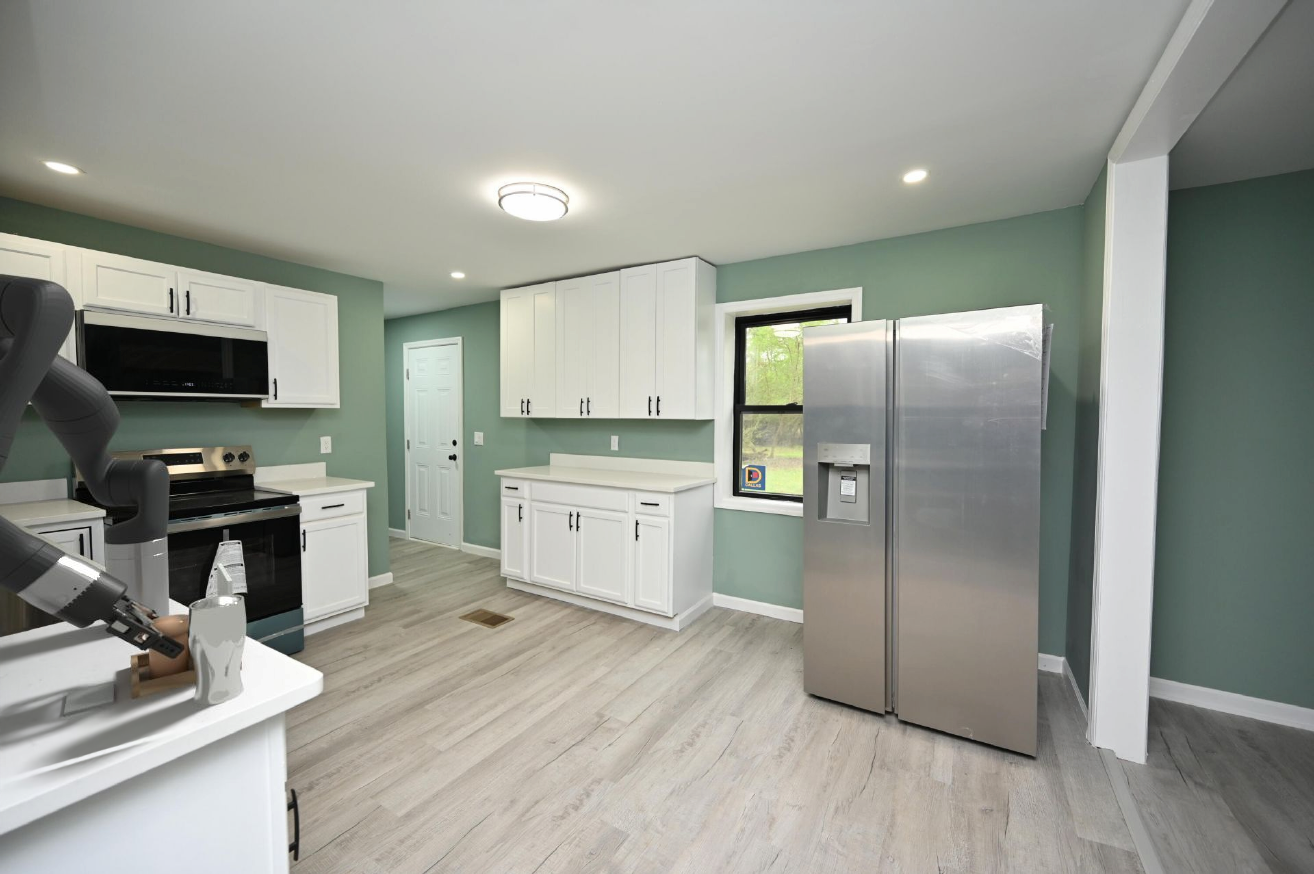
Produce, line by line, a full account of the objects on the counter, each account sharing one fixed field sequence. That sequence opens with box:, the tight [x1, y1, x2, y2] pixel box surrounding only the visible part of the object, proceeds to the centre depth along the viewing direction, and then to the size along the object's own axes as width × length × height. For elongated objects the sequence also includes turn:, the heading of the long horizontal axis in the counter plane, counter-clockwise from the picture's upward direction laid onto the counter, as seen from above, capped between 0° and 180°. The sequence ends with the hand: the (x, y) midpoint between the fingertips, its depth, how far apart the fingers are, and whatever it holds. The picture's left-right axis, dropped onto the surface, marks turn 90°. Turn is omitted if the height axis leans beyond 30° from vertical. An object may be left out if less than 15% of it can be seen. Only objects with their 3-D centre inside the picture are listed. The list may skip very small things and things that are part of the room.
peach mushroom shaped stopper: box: [144, 613, 189, 680], centre depth 90 cm, size 6×6×9 cm
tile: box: [63, 681, 115, 717], centre depth 83 cm, size 8×5×1 cm, turn 44°
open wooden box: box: [130, 645, 243, 700], centre depth 92 cm, size 14×13×12 cm
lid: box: [216, 562, 234, 596], centre depth 96 cm, size 14×1×9 cm, turn 44°
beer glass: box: [187, 594, 247, 707], centre depth 84 cm, size 7×7×15 cm
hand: (178, 644), depth 91 cm, fingers open, 8 cm apart
